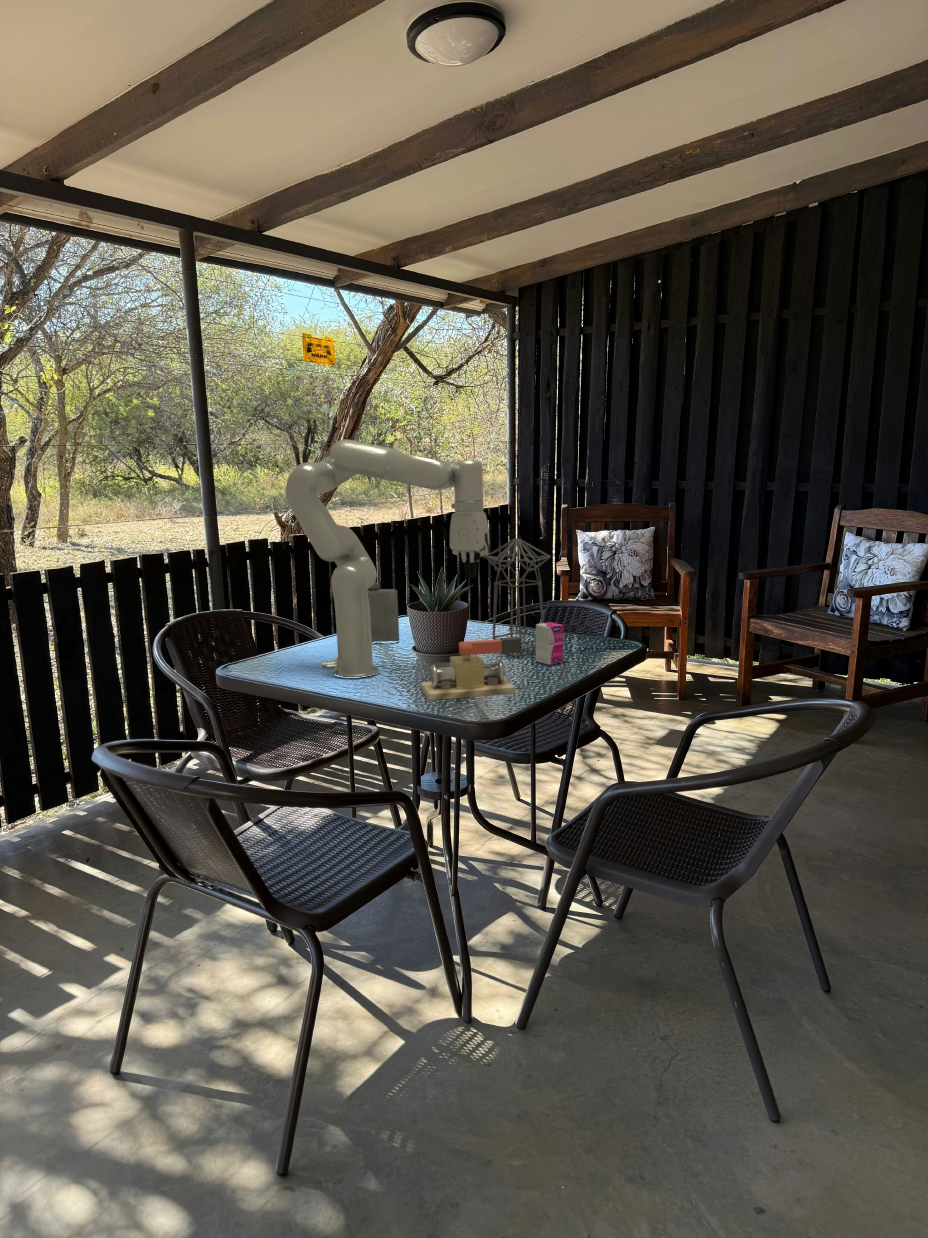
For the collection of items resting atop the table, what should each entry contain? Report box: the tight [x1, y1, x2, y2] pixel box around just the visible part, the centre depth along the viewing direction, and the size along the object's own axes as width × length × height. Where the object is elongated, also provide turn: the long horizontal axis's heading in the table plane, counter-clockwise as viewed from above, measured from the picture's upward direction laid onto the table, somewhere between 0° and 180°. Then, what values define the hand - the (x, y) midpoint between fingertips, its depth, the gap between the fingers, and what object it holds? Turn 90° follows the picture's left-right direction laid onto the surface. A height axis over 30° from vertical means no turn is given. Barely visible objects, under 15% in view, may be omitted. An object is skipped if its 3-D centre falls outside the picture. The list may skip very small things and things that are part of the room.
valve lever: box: [458, 636, 523, 659], centre depth 203 cm, size 16×4×4 cm, turn 101°
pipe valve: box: [429, 654, 505, 690], centre depth 203 cm, size 18×8×8 cm, turn 102°
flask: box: [367, 582, 400, 642], centre depth 265 cm, size 15×6×20 cm, turn 96°
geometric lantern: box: [482, 537, 552, 658], centre depth 241 cm, size 16×16×35 cm
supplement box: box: [535, 621, 564, 667], centre depth 230 cm, size 6×6×12 cm
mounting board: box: [420, 676, 517, 701], centre depth 204 cm, size 22×12×2 cm, turn 102°
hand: (470, 576), depth 215 cm, fingers closed
